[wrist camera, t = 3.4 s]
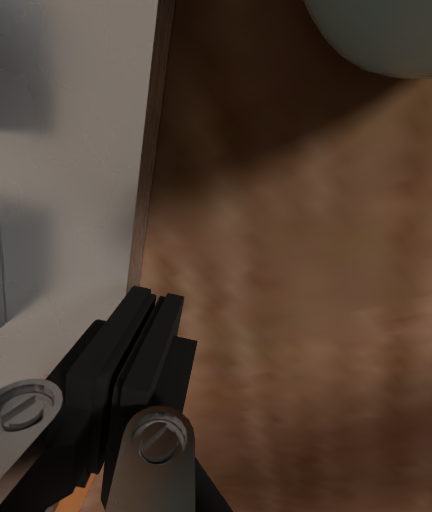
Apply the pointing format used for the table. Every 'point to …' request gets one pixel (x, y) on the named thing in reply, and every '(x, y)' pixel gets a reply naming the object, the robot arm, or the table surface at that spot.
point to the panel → (74, 166)
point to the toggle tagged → (1, 298)
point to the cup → (378, 34)
